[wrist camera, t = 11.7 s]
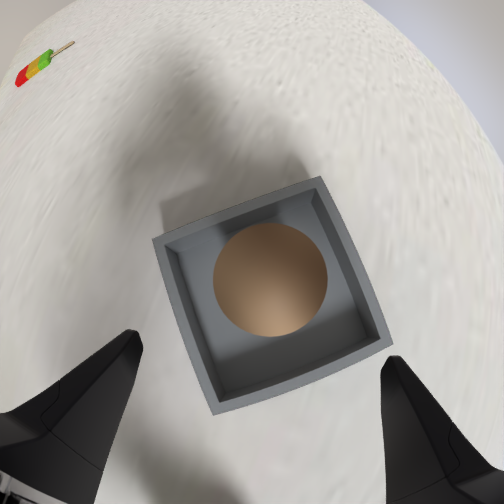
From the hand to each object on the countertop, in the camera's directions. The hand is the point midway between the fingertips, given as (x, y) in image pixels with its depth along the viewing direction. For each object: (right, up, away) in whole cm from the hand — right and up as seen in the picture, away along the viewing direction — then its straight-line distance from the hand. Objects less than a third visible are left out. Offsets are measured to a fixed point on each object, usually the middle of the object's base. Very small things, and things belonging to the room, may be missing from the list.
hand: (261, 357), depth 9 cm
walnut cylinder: (+1, 0, +13) cm, 13 cm away
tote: (+1, 0, +13) cm, 13 cm away
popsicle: (-42, +42, +27) cm, 65 cm away
